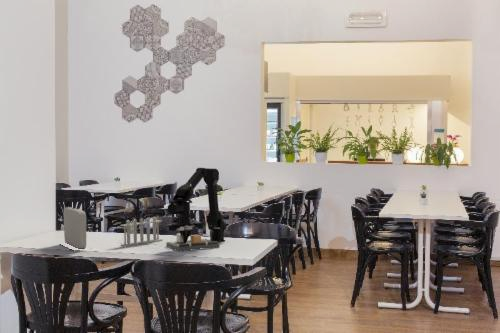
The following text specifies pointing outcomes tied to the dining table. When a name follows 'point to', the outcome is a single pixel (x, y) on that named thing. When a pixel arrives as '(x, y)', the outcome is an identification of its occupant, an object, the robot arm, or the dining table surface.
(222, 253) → the dining table surface
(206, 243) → the cord bundle
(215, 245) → the breaker panel
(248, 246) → the dining table surface
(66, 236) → the wireless router
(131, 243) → the test tube rack
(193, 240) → the block
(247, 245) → the dining table surface
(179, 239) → the block
